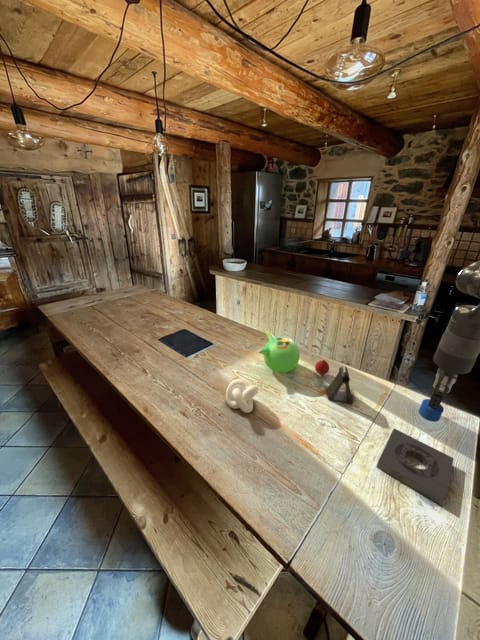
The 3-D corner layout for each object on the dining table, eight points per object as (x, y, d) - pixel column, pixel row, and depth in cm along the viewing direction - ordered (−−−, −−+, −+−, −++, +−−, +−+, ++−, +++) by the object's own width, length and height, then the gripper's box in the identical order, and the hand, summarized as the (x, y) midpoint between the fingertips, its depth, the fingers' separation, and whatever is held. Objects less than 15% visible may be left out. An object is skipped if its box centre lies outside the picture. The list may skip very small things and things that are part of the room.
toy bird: (296, 382, 111) (300, 352, 104) (256, 375, 114) (258, 346, 108) (299, 359, 126) (302, 331, 120) (264, 353, 130) (265, 327, 124)
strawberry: (311, 371, 118) (314, 355, 114) (323, 369, 119) (326, 354, 115) (317, 379, 113) (320, 363, 109) (330, 377, 114) (333, 362, 110)
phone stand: (350, 393, 105) (356, 368, 100) (352, 403, 100) (359, 377, 95) (326, 389, 107) (331, 364, 102) (327, 399, 102) (333, 374, 97)
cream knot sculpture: (218, 409, 96) (218, 390, 92) (234, 390, 106) (234, 371, 102) (247, 420, 92) (248, 401, 88) (260, 399, 101) (261, 380, 97)
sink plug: (430, 408, 75) (440, 384, 71) (443, 421, 70) (455, 396, 67) (414, 409, 74) (424, 384, 71) (426, 422, 70) (438, 397, 66)
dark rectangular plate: (391, 433, 88) (393, 428, 87) (450, 463, 78) (453, 458, 77) (376, 466, 77) (378, 460, 76) (442, 506, 67) (445, 500, 66)
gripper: (475, 367, 56) (446, 427, 64) (480, 344, 66) (454, 398, 73) (434, 354, 61) (411, 411, 68) (443, 333, 70) (422, 385, 78)
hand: (433, 404), depth 71 cm, fingers closed on sink plug
